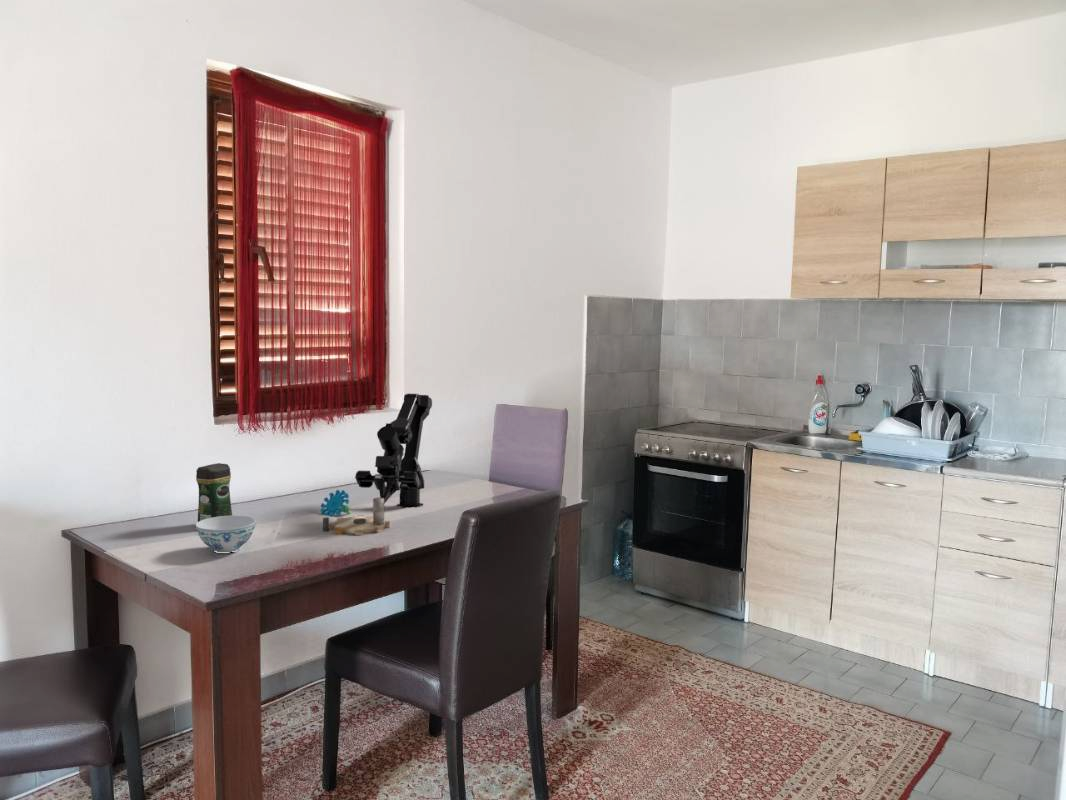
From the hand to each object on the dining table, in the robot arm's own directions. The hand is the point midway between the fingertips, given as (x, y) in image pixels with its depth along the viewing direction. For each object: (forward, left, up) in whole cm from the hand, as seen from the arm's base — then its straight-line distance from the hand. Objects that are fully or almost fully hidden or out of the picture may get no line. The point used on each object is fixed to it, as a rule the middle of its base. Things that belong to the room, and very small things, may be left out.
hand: (382, 503), depth 241 cm
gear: (-4, -24, -8) cm, 25 cm away
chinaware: (+41, -18, -8) cm, 45 cm away
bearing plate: (+4, -5, -8) cm, 10 cm away
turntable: (+4, -5, -7) cm, 10 cm away
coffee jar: (+27, -43, -8) cm, 51 cm away
